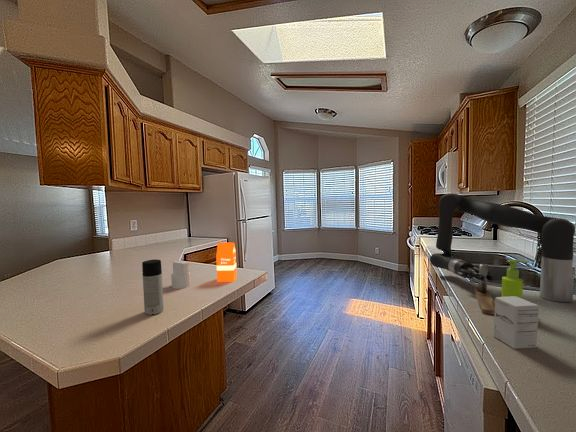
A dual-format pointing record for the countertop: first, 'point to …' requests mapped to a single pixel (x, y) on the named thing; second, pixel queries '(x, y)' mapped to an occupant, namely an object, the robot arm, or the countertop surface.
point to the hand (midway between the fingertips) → (488, 278)
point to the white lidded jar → (181, 275)
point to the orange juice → (226, 262)
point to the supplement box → (516, 322)
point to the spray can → (152, 286)
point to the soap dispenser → (512, 281)
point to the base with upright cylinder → (484, 293)
